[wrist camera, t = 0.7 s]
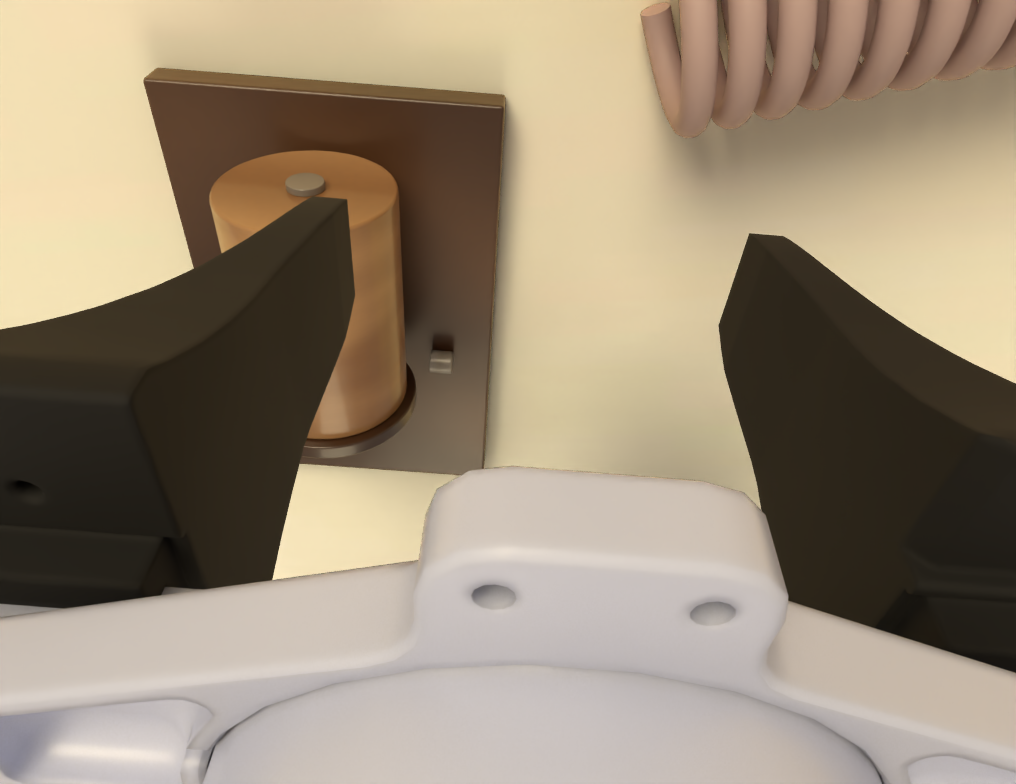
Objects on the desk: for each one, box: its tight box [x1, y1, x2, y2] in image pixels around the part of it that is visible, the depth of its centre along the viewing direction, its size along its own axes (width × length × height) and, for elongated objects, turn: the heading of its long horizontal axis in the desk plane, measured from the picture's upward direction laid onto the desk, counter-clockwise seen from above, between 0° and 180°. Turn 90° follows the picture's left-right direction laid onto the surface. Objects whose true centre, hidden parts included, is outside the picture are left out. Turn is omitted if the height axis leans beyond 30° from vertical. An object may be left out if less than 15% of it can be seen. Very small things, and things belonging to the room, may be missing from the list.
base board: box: [144, 68, 506, 475], centre depth 25 cm, size 16×10×2 cm, turn 176°
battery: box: [209, 150, 417, 458], centre depth 21 cm, size 5×5×8 cm
